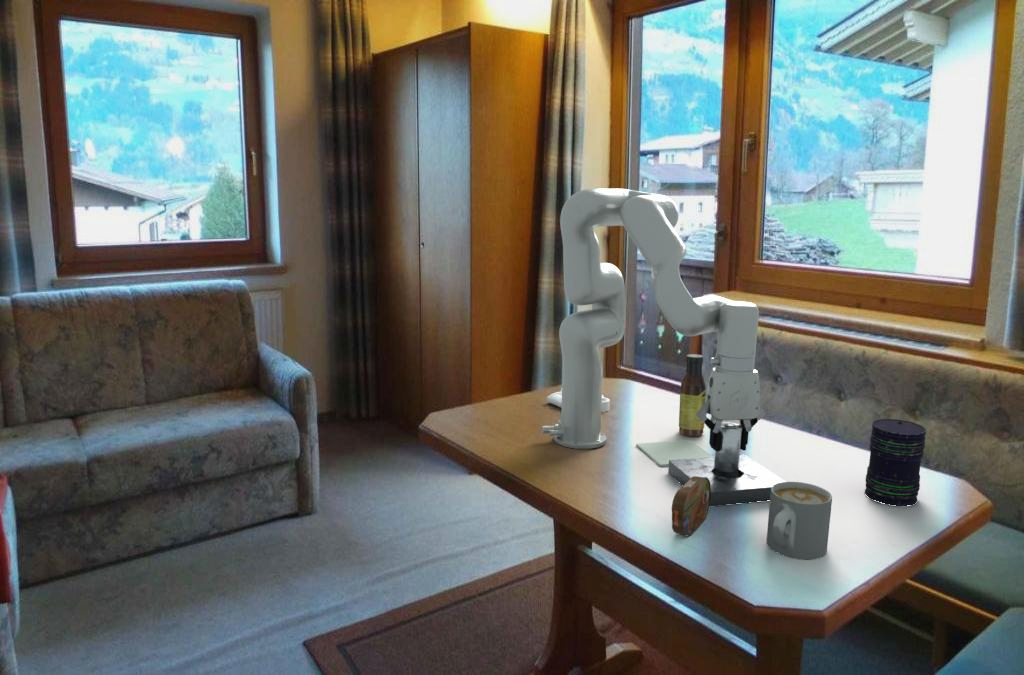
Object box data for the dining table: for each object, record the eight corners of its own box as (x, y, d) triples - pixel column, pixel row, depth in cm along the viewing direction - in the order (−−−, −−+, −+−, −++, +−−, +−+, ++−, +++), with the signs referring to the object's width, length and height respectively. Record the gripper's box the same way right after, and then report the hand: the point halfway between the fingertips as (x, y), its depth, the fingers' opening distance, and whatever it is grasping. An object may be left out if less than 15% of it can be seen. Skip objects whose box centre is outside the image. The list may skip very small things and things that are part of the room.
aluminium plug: (720, 472, 161) (723, 429, 159) (710, 463, 166) (713, 421, 164) (743, 471, 162) (746, 428, 160) (732, 462, 167) (735, 420, 165)
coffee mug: (789, 528, 145) (794, 477, 143) (838, 550, 137) (844, 495, 135) (741, 547, 138) (745, 493, 136) (790, 570, 130) (795, 513, 128)
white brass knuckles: (539, 402, 224) (580, 394, 232) (579, 418, 210) (621, 410, 218) (540, 390, 224) (580, 383, 232) (579, 406, 209) (621, 398, 217)
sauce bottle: (706, 437, 195) (711, 359, 191) (680, 437, 195) (685, 358, 191) (700, 429, 201) (705, 353, 197) (675, 428, 201) (680, 352, 197)
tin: (684, 543, 139) (686, 498, 137) (666, 539, 140) (669, 494, 139) (711, 513, 151) (714, 472, 150) (695, 510, 153) (698, 468, 151)
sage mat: (660, 466, 175) (660, 464, 175) (636, 445, 188) (636, 443, 188) (718, 462, 178) (718, 460, 178) (690, 441, 192) (690, 439, 191)
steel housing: (707, 507, 154) (708, 492, 153) (668, 473, 171) (668, 460, 171) (789, 499, 158) (790, 485, 158) (743, 467, 175) (744, 454, 175)
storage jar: (916, 511, 154) (925, 437, 151) (861, 500, 158) (869, 429, 155) (918, 493, 162) (927, 423, 159) (866, 484, 167) (874, 416, 164)
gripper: (702, 368, 154) (696, 457, 158) (783, 366, 157) (775, 453, 161) (687, 359, 161) (681, 444, 165) (765, 357, 165) (757, 440, 168)
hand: (728, 447), depth 163 cm, fingers closed on aluminium plug, 5 cm apart
